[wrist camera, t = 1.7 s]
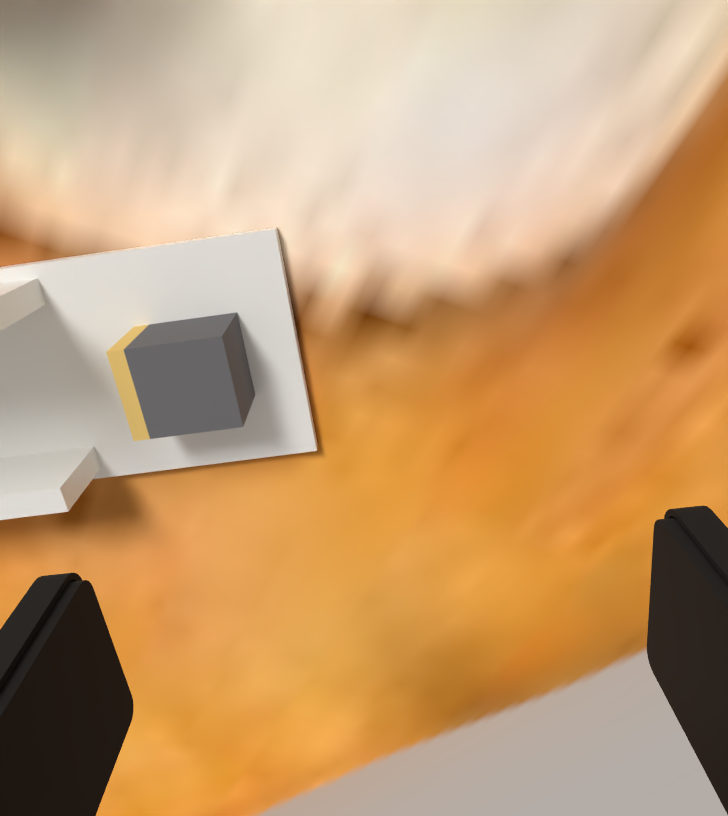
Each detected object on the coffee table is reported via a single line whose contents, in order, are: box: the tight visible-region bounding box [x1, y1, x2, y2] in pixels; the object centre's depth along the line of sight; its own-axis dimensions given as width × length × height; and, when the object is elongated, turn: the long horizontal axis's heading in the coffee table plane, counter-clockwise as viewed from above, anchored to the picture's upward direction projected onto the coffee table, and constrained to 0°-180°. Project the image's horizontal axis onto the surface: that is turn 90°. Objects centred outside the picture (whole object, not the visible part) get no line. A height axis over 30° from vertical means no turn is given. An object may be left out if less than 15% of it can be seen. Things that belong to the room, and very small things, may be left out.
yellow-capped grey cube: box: [106, 312, 255, 441], centre depth 24 cm, size 4×3×3 cm
